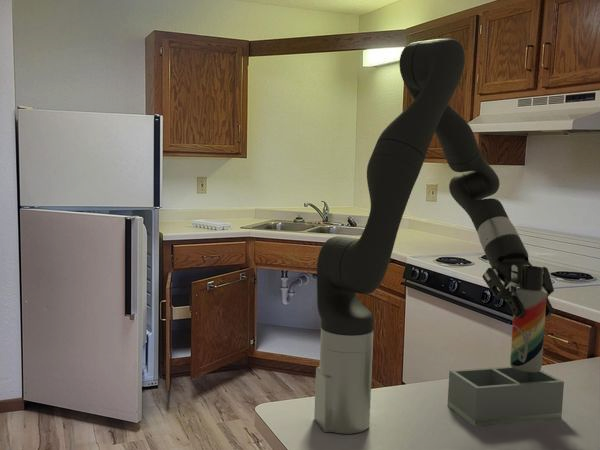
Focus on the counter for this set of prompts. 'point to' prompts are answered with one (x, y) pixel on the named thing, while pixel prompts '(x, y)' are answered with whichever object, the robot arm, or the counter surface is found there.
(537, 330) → the lotion bottle
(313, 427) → the counter surface
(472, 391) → the box
